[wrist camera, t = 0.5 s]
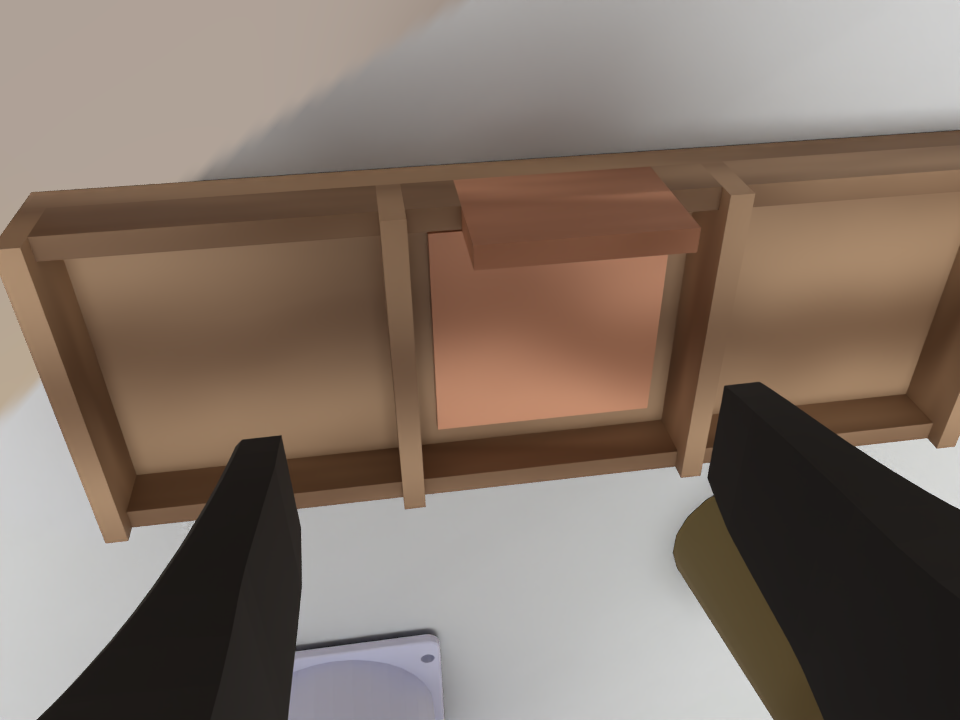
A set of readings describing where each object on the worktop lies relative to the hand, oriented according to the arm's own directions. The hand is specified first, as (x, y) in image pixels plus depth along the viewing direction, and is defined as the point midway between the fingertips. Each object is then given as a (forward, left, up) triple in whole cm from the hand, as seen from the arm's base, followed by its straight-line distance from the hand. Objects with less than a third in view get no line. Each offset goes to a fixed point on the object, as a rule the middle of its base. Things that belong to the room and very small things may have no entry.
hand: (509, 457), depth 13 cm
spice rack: (-3, -3, -10) cm, 11 cm away
